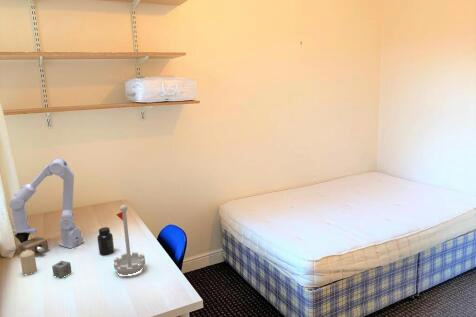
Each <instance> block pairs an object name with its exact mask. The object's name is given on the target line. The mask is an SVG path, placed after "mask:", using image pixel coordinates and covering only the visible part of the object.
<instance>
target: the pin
mask: <svg viewBox="0 0 476 317" xmlns="http://www.w3.org/2000/svg"><path fill="white" fill-rule="evenodd" d="M35 251H38V252H42V253H43V252H44V251H45V249H44V248H42V247H39V246H36V247H35ZM43 254H44V253H43Z"/></svg>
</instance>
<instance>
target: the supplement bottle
mask: <svg viewBox="0 0 476 317" xmlns="http://www.w3.org/2000/svg"><path fill="white" fill-rule="evenodd" d="M97 244H98V245H97V246H98V252H99V254H100V256H108V255H111V253H112V254H113V253H114V251H115V246H114V245H115V244H114V236H113V234H112V232H111V231H110V227H109V226H104V227H101V228H99V229H98V235H97Z"/></svg>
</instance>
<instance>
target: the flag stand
mask: <svg viewBox="0 0 476 317" xmlns="http://www.w3.org/2000/svg"><path fill="white" fill-rule="evenodd" d="M119 210H120V211H121V212H118V213H117V214H115V215H116V217H118V218H119V219H120V220H121V221H122V222H123V223H122V224H123V231H124V232H123V233H124V242H125V251H126V253H123V254H120V256H121V257H115V258H114V259H113V269H114V270H116V271H117V272H118V273H119V274H122V275H128V274H133V273H136V272H138V271H140V270H141V269H142V268H143V269H144V265H145V263H146V257H145V254H144V253H140V254H139V251H135V252H134V251H133V252H131V245H130V237H129V235H130V234H129V229H128V228H129V227H128V219H127V211H128V206H127V205H125V204H122V205H121V206H120V207H119ZM138 264H139V265H138Z"/></svg>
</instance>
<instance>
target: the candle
mask: <svg viewBox="0 0 476 317" xmlns="http://www.w3.org/2000/svg"><path fill="white" fill-rule="evenodd" d="M19 259H20V260H19V261H20V266H21V271H22V275H24V274H30V275H32V274H31V273H33V274H35V273H36V272H37V270H38V266H37V262H36V257H35V255H34V252H33V251H31V250H26V251H23V252H22V253H21V254H20V256H19ZM34 272H35V273H34Z"/></svg>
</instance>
